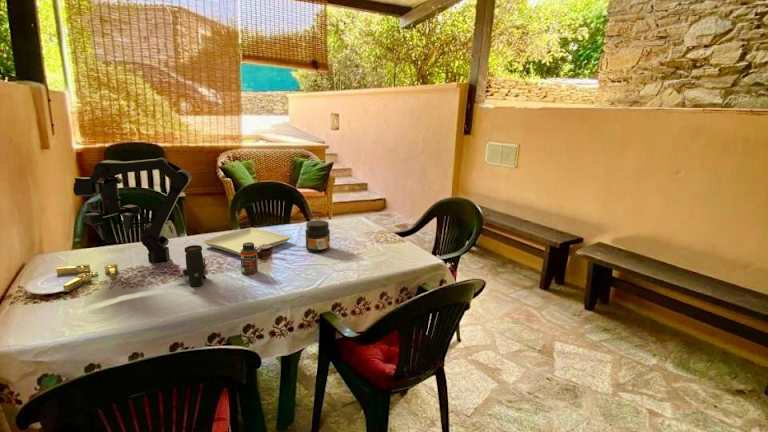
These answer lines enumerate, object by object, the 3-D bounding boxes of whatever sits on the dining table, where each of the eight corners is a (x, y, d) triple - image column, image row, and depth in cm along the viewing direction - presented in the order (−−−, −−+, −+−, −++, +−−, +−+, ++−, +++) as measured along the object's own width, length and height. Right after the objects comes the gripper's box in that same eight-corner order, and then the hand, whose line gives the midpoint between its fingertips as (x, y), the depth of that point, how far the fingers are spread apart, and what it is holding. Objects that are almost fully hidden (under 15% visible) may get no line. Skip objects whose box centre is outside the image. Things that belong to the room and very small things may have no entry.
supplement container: (323, 254, 181) (323, 227, 177) (301, 251, 184) (300, 224, 181) (334, 247, 190) (333, 221, 187) (312, 244, 193) (312, 218, 190)
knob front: (92, 270, 156) (91, 263, 155) (87, 274, 152) (86, 267, 151) (61, 271, 154) (59, 265, 153) (55, 276, 150) (54, 269, 149)
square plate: (292, 244, 194) (292, 236, 193) (243, 262, 172) (243, 252, 171) (251, 233, 208) (251, 225, 207) (201, 248, 186) (201, 240, 185)
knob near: (105, 271, 155) (103, 264, 154) (117, 269, 157) (116, 262, 156) (107, 281, 147) (105, 274, 146) (120, 278, 149) (119, 271, 149)
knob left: (83, 279, 148) (82, 272, 147) (94, 279, 148) (93, 272, 147) (60, 291, 138) (59, 284, 138) (72, 292, 138) (70, 284, 138)
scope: (204, 240, 152) (207, 249, 143) (208, 277, 156) (211, 287, 147) (179, 243, 148) (180, 252, 140) (183, 280, 152) (184, 291, 143)
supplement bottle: (243, 276, 157) (241, 247, 154) (240, 270, 162) (238, 242, 159) (259, 273, 160) (258, 245, 157) (256, 268, 165) (254, 240, 162)
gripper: (119, 188, 168) (124, 226, 172) (68, 197, 151) (76, 239, 155) (138, 191, 163) (143, 230, 167) (88, 201, 147) (95, 244, 151)
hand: (115, 236), depth 160 cm, fingers open, 9 cm apart
